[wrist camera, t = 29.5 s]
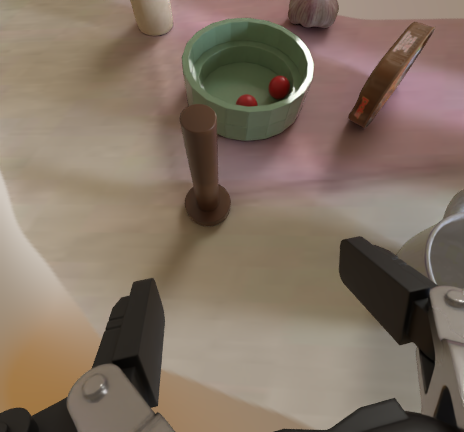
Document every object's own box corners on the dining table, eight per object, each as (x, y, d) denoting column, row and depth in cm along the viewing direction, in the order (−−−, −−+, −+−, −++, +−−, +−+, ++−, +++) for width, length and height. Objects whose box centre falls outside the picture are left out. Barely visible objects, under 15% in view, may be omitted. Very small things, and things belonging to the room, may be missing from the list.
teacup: (475, 363, 25) (583, 381, 17) (364, 311, 26) (421, 307, 19) (487, 237, 30) (576, 209, 22) (393, 199, 31) (447, 160, 24)
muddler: (216, 179, 31) (213, 79, 18) (238, 213, 30) (251, 130, 17) (178, 198, 30) (146, 105, 17) (199, 234, 29) (180, 162, 16)
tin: (356, 141, 34) (395, 87, 26) (335, 128, 35) (368, 72, 27) (404, 77, 39) (450, 16, 31) (385, 67, 39) (425, 4, 32)
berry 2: (288, 90, 36) (297, 80, 33) (278, 106, 36) (286, 98, 33) (272, 77, 36) (280, 66, 33) (261, 94, 35) (268, 84, 33)
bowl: (266, 46, 40) (273, 6, 35) (322, 119, 35) (339, 85, 30) (170, 75, 37) (162, 36, 32) (217, 160, 32) (216, 130, 27)
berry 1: (256, 120, 35) (257, 98, 34) (257, 116, 32) (259, 91, 31) (234, 119, 35) (236, 97, 34) (234, 115, 32) (235, 90, 31)
